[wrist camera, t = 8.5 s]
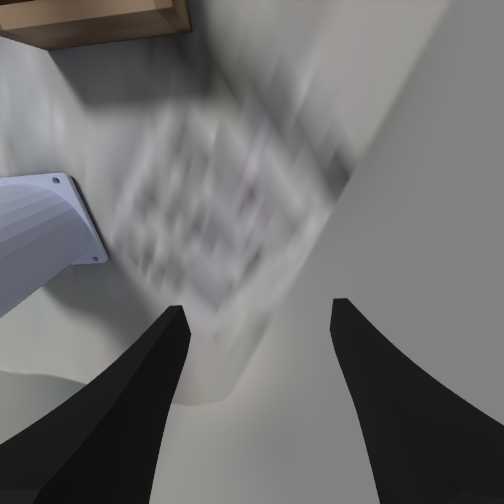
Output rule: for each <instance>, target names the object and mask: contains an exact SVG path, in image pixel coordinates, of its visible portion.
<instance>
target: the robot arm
mask: <svg viewBox="0 0 504 504" xmlns="http://www.w3.org/2000/svg"><path fill="white" fill-rule="evenodd" d="M56 178H58V179H59V181H60V183H59V182H58V181H57V179H56ZM96 257H97V258H98V259H97V258H96ZM107 260H108V255H107V253H106V251H105V249H104V247H103V245H102V242H101V240H100V238H99V236H98V234H97V232H96V230H95V227H94V225H93V223H92V221H91V219H90V217H89V215H88V212H87V210H86V208H85V206H84V204H83V202H82V200H81V197H80V195H79V193H78V191H77V189H76V187H75V185H74V183H73V180H72V178H71V177H70V176H69V175H68V174H67V173H63V172H62V173H50V174H39V175H28V176H16V177H5V178H0V318H1V317H3V316H4V315H5V314H7V313H8V312H9V311H10V310H12V309H13V308H14V307H16V306H17V305H18V304H20V303H21V302H22V301H23V300H25V299H26V298H27V297H29V296H30V295H31V294H32V293H34V292H35V291H36V290H38V289H39V288H40V287H41V286H43V285H44V284H45V283H47V282H48V281H49V280H50V279H52V278H53V277H54V276H56V275H57V274H58V273H60V272H61V271H62V270H63V269H65V268H66V267H67V266H69V265H77V264H94V263H105V262H106V261H107ZM330 333H331V337H332V342H333V345H334V350H335V353H336V355H337V358H338V361H339V364H340V367H341V369H342V372H343V375H344V378H345V380H346V383H347V386H348V388H349V391H350V394H351V396H352V399H353V402H354V405H355V408H356V411H357V415H358V418H359V422H360V426H361V429H362V433H363V437H364V440H365V444H366V448H367V452H368V456H369V460H370V464H371V468H372V472H373V476H374V480H375V484H376V488H377V492H378V496H379V501H380V504H504V426H503V425H502V424H500V423H499V422H497V421H496V420H494V419H492V418H491V417H489V416H488V415H486V414H484V413H483V412H482V411H480V410H478V409H477V408H475V407H474V406H473V405H471V404H470V403H468V402H467V401H465V400H464V399H462V398H461V397H459V396H458V395H457V394H455V393H454V392H452V391H451V390H449V389H448V388H446V387H445V386H444V385H442V384H441V383H440V382H438V381H437V380H436V379H434V378H433V377H432V376H430V375H429V374H428V373H426V372H425V371H424V370H422V369H421V368H420V367H419V366H418V365H416V364H415V363H414V362H413V361H411V360H410V359H409V358H408V357H407V356H405V355H404V354H403V353H402V352H401V351H400V350H399V349H398V348H396V347H395V346H394V345H393V344H392V343H391V342H390V341H389V340H388V339H387V338H386V337H385V336H383V335H382V334H381V333H380V332H379V331H378V330H377V329H376V328H375V327H374V326H373V325H372V324H371V323H370V322H369V321H368V320H367V319H366V318H365V317H364V316H363V315H362V314H361V312H360V311H359V310H358V309H357V308H356V307H355V306H354V305H353V304H352V303H351V302H350V301H349V300H348V299H347V298H341V299H333V306H332V315H331V323H330ZM190 338H191V332H190V329H189V326H188V323H187V320H186V316H185V313H184V310H183V307H182V305H177V306H169V307H168V308H167V309H166V310H165V311H164V312H163V313H162V315H161V316H160V317H159V318H158V319H157V320H156V321H155V322H154V323H153V324H152V325H151V326H150V327H149V328H148V329H147V330H146V331H145V332H144V333H143V335H142V336H141V337H140V338H139V339H138V340H137V341H136V342H135V343H134V344H133V345H132V346H130V347H129V348H128V349H127V350H126V351H125V352H124V353H123V354H122V355H121V356H120V357H119V358H118V359H117V360H116V361H115V362H114V363H112V364H111V365H110V366H109V367H108V368H107V369H106V370H104V371H103V372H102V373H101V374H100V375H98V376H97V377H96V378H95V379H94V380H92V381H91V382H90V383H89V384H87V385H86V386H85V387H83V388H82V389H81V390H80V391H78V392H77V393H76V394H74V395H73V396H72V397H70V398H69V399H68V400H66V401H65V402H64V403H62V404H61V405H60V406H58V407H57V408H55V409H54V410H52V411H51V412H50V413H48V414H47V415H45V416H44V417H43V418H41V419H40V420H38V421H36V422H35V423H34V424H32V425H31V426H29V427H27V428H26V429H24V430H23V431H21V432H20V433H18V434H17V435H15V436H14V437H12V438H10V439H9V440H7V441H5V442H4V443H2V444H0V504H149V499H150V494H151V489H152V483H153V479H154V474H155V469H156V464H157V459H158V455H159V450H160V446H161V441H162V437H163V432H164V428H165V424H166V420H167V416H168V412H169V409H170V405H171V402H172V399H173V396H174V393H175V390H176V387H177V384H178V381H179V378H180V375H181V372H182V369H183V366H184V363H185V360H186V357H187V353H188V348H189V343H190Z"/></svg>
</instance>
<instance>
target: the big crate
mask: <svg viewBox="0 0 504 504" xmlns="http://www.w3.org/2000/svg"><path fill="white" fill-rule="evenodd" d="M186 32H192V26H191V20H190V14H189V8H188V1H187V0H0V36H2V37H5V38H8V39H11V40H14V41H18V42H21V43H24V44H27V45H31V46H34V47H37V48H40V49H43V50H53V49H61V48H69V47H77V46H85V45H92V44H100V43H108V42H116V41H123V40H131V39H139V38H147V37H154V36H162V35H170V34H178V33H186Z"/></svg>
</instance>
